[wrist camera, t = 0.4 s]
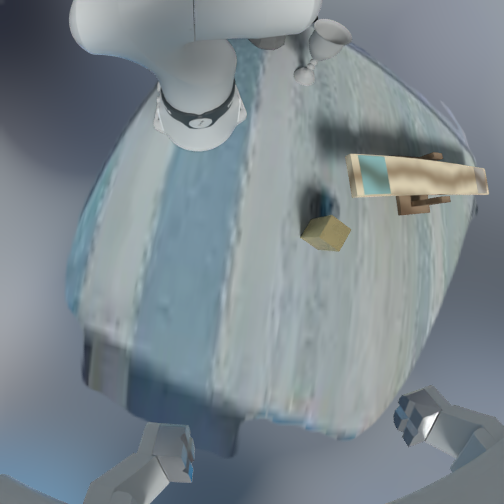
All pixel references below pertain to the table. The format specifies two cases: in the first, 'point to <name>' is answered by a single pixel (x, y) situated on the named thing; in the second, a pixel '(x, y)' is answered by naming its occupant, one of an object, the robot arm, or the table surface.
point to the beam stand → (419, 202)
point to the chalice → (323, 47)
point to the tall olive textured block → (326, 233)
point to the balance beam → (411, 177)
